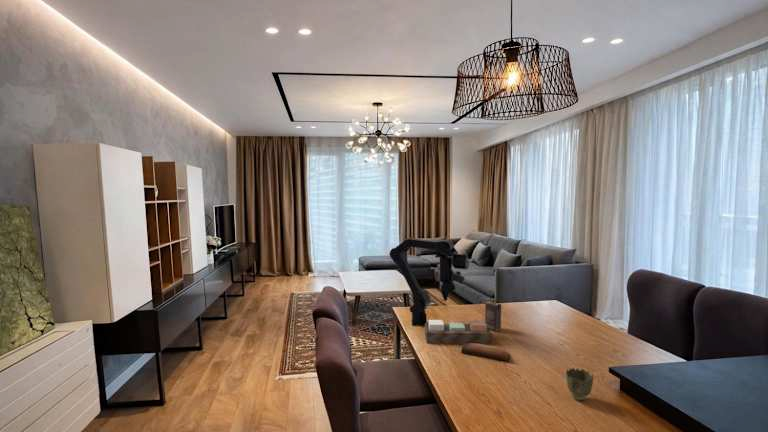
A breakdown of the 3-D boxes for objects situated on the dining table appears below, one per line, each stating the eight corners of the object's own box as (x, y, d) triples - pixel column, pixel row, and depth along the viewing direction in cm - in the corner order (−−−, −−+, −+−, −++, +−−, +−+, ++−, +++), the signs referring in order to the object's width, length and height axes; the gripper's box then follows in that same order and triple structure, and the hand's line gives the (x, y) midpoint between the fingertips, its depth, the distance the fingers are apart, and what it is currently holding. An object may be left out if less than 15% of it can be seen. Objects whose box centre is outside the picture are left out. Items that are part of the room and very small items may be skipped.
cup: (560, 392, 115) (561, 368, 115) (582, 391, 116) (583, 367, 116) (574, 406, 108) (575, 380, 108) (598, 405, 109) (599, 378, 108)
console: (426, 343, 154) (426, 332, 154) (424, 333, 165) (424, 323, 164) (491, 343, 153) (491, 333, 153) (485, 334, 164) (485, 324, 164)
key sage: (450, 338, 156) (451, 327, 156) (448, 332, 162) (449, 322, 162) (465, 338, 156) (465, 327, 155) (462, 332, 162) (462, 322, 161)
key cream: (429, 335, 156) (429, 324, 156) (428, 329, 162) (428, 319, 162) (443, 335, 156) (443, 324, 156) (442, 329, 162) (442, 319, 162)
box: (501, 329, 169) (501, 303, 169) (495, 331, 167) (496, 305, 166) (490, 325, 174) (490, 300, 173) (484, 328, 171) (484, 302, 170)
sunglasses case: (511, 353, 144) (511, 342, 140) (509, 369, 138) (508, 358, 135) (466, 345, 152) (464, 334, 148) (462, 359, 146) (460, 349, 143)
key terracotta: (472, 335, 156) (472, 325, 155) (469, 330, 162) (469, 320, 161) (486, 335, 155) (486, 325, 155) (483, 330, 161) (483, 320, 161)
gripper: (467, 271, 160) (466, 307, 161) (459, 263, 178) (459, 295, 179) (441, 271, 160) (441, 306, 161) (436, 263, 179) (436, 295, 180)
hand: (445, 300), depth 170 cm, fingers closed
